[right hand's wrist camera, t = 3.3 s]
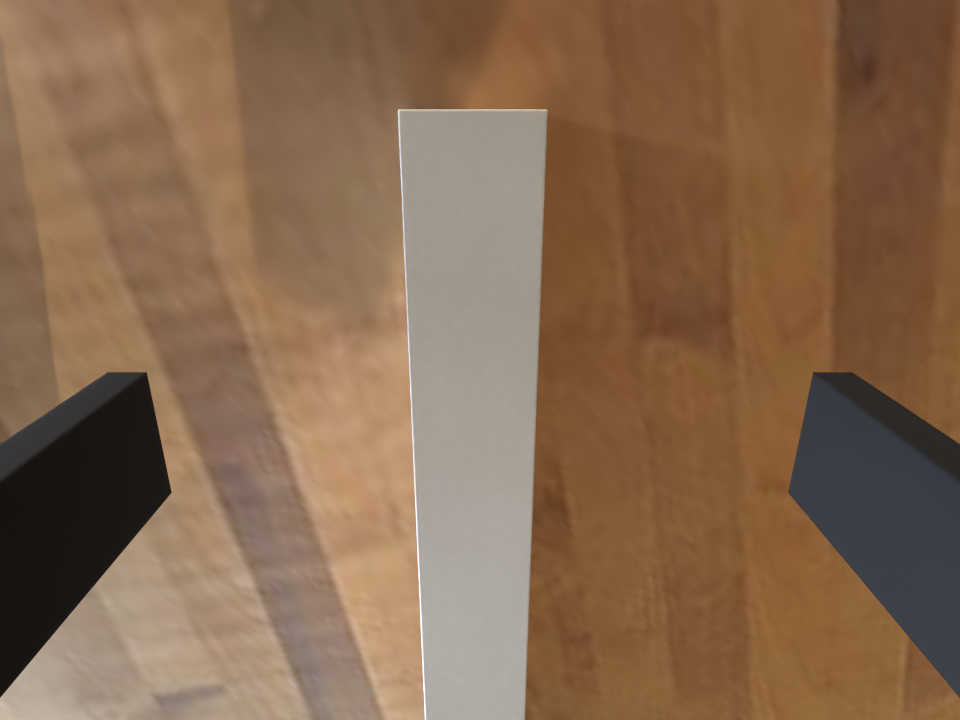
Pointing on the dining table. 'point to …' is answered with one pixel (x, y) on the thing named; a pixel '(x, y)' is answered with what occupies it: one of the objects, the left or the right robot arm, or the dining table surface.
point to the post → (473, 394)
